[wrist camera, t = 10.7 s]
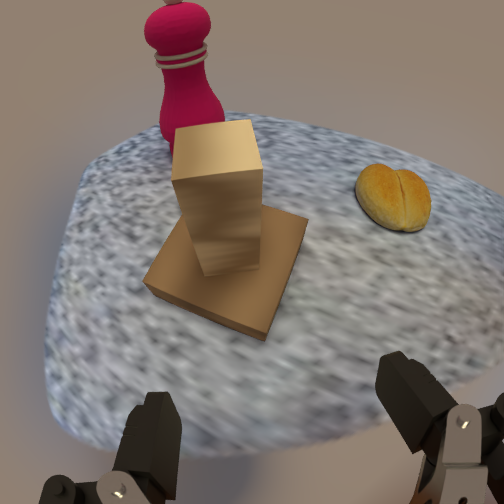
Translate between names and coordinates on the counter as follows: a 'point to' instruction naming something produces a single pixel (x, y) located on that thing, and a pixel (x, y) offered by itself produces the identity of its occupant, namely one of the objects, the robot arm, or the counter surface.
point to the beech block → (220, 193)
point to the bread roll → (394, 197)
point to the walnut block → (230, 276)
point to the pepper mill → (182, 66)
